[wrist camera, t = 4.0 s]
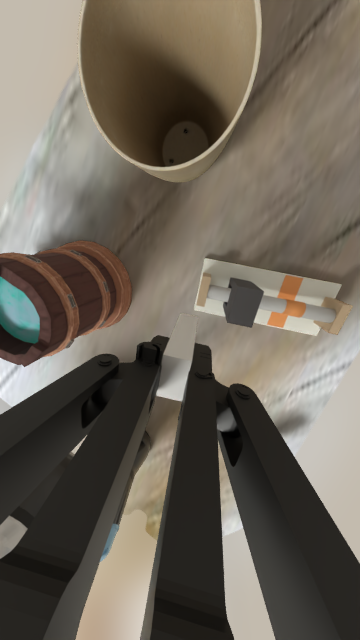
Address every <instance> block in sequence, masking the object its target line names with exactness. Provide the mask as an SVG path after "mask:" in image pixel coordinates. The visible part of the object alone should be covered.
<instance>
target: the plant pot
mask: <svg viewBox="0 0 360 640" xmlns="http://www.w3.org/2000/svg"><path fill="white" fill-rule="evenodd" d="M261 40H262V14H261V4H260V0H83V2H82V6H81V12H80V18H79V28H78V43H77V45H78V46H77V48H78V66H79V74H80V80H81V85H82V89H83V93H84V96H85V100H86V103H87V106H88V109H89V111H90V114H91V116H92V118H93V120H94V122H95V124H96V126H97V128H98V130H99V131H100V133H101V134H102V136H103V137H104V138H105V140H106V141H107V142H108V143H109V145H110V146H111V147H112V148H113V149H114V150H115V151H116V152H117V153H118V154H119V155H121V156H122V157H123V158H125V159H126V160H127V161H129V162H131V163H132V164H134V165H136V166H137V167H139V168H140V169H142V170H144V171H145V172H147V173H149V174H151V175H153V176H155V177H157V178H160V179H163V180H166V181H170V182H188V181H191V180H194V179H196V178H197V177H199V176H200V175H202V174H203V173H204V172H205V171H206V170H207V169H208V168H209V167H210V166H211V165H212V164H213V163H214V162H215V160H216V159H217V158H218V156H219V155H220V153H221V152H222V150H223V149H224V147H225V145H226V144H227V142H228V140H229V138H230V136H231V134H232V132H233V130H234V128H235V126H236V124H237V122H238V120H239V118H240V116H241V114H242V111H243V109H244V107H245V105H246V102H247V100H248V97H249V95H250V92H251V89H252V86H253V83H254V80H255V76H256V72H257V68H258V63H259V57H260V50H261ZM185 130H187V134H185V133H184V131H185ZM171 161H173V163H172V164H171V163H170V162H171Z"/></svg>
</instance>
